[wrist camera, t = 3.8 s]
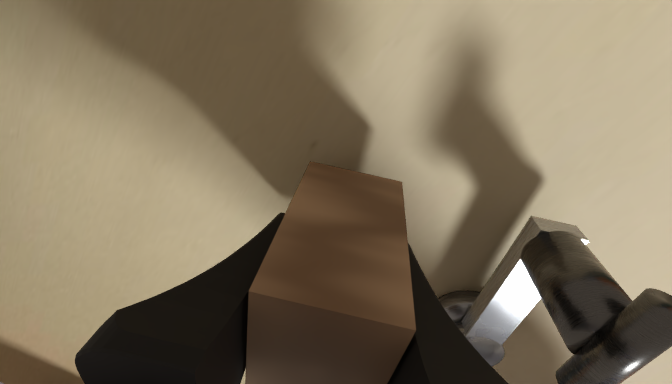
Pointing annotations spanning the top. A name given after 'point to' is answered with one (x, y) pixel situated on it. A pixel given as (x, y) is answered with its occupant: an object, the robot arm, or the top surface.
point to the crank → (569, 307)
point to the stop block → (333, 285)
